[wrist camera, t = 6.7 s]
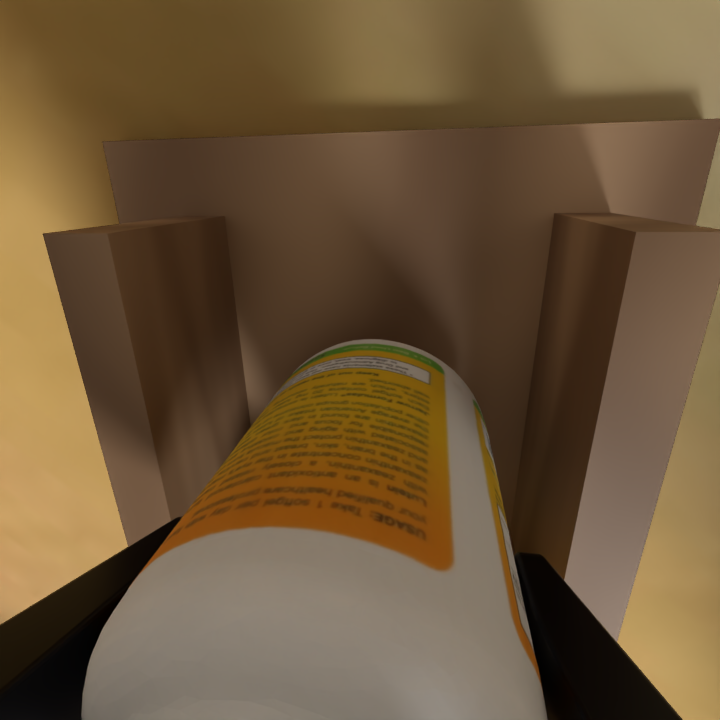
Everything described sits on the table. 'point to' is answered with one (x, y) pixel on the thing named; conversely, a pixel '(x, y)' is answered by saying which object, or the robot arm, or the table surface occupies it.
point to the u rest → (409, 307)
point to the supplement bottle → (334, 565)
